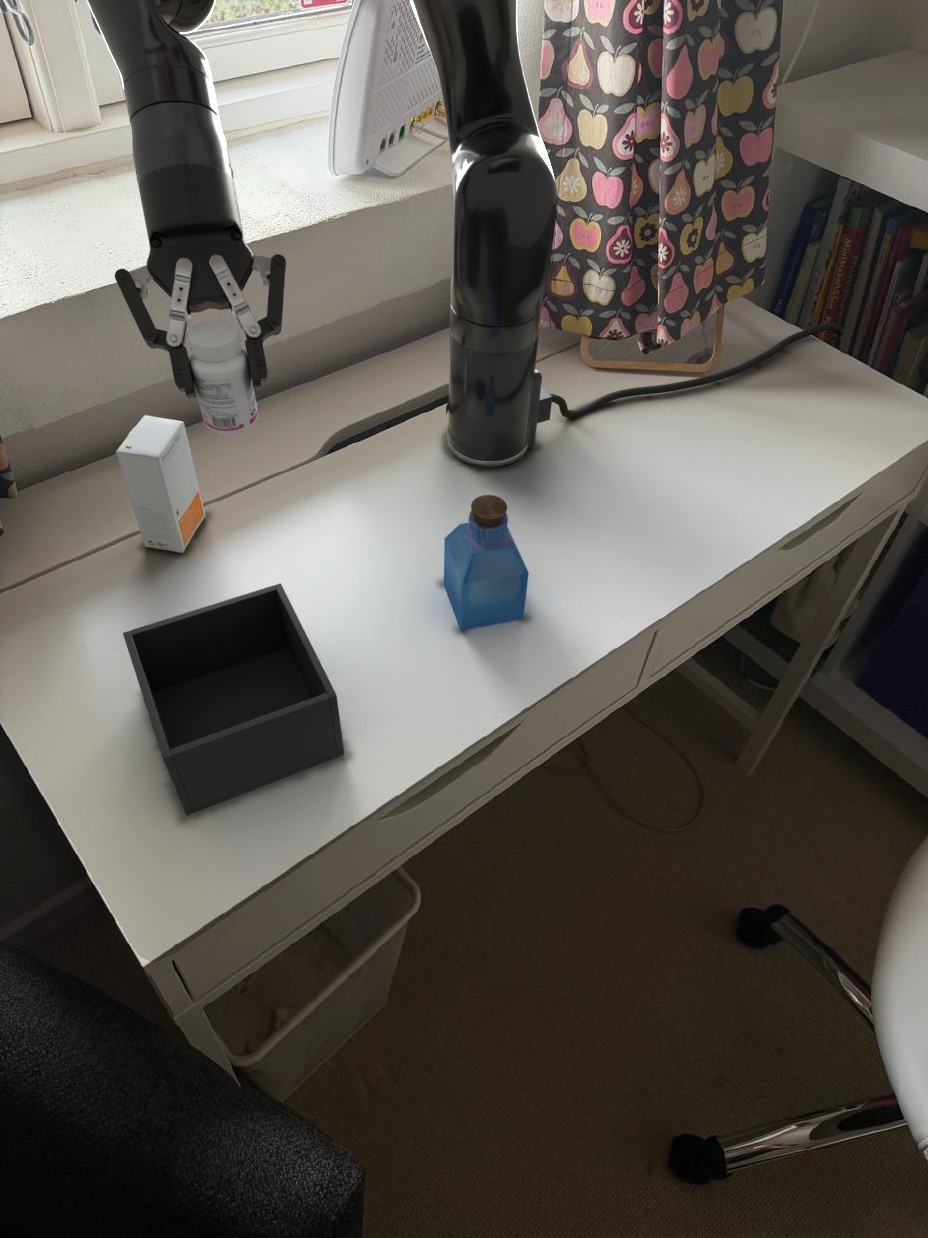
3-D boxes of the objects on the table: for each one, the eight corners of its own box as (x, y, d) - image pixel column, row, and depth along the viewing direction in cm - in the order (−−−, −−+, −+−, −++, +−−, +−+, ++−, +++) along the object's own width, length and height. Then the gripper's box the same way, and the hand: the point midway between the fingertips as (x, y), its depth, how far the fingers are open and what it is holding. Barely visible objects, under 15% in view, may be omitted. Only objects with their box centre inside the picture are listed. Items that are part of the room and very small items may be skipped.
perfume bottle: (460, 630, 82) (464, 536, 74) (443, 584, 86) (445, 489, 77) (523, 618, 84) (534, 524, 75) (503, 573, 88) (512, 479, 79)
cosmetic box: (184, 554, 88) (157, 458, 79) (144, 547, 89) (112, 451, 80) (208, 515, 92) (184, 419, 83) (169, 509, 93) (142, 413, 84)
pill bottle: (234, 397, 79) (217, 310, 73) (270, 418, 77) (255, 331, 71) (191, 420, 77) (170, 333, 71) (227, 443, 75) (208, 355, 69)
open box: (291, 644, 81) (280, 582, 75) (344, 754, 73) (337, 695, 67) (146, 693, 77) (122, 632, 71) (186, 816, 69) (163, 759, 63)
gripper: (83, 167, 66) (127, 393, 68) (274, 152, 69) (313, 371, 71) (103, 208, 74) (142, 411, 75) (275, 193, 77) (310, 390, 78)
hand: (224, 391), depth 73 cm, fingers closed on pill bottle, 4 cm apart
